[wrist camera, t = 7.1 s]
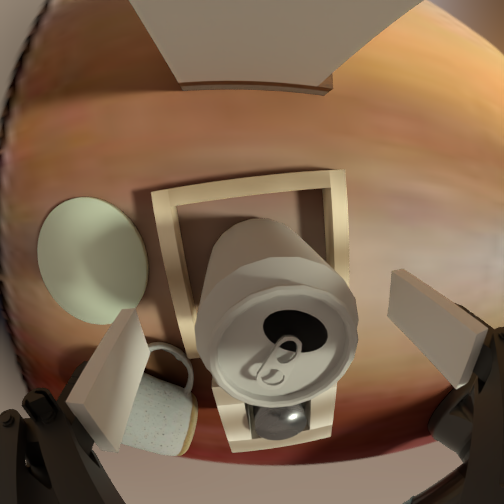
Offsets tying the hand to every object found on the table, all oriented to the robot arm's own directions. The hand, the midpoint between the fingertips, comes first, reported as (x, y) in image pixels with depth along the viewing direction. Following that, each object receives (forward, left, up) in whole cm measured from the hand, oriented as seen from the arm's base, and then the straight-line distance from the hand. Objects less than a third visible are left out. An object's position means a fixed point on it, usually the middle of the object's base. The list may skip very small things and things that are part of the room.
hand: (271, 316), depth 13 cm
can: (0, 0, -9) cm, 9 cm away
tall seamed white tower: (+19, -2, -9) cm, 21 cm away
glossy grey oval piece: (-11, 0, -7) cm, 13 cm away
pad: (+2, +14, -9) cm, 16 cm away
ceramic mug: (-11, +11, -9) cm, 18 cm away
